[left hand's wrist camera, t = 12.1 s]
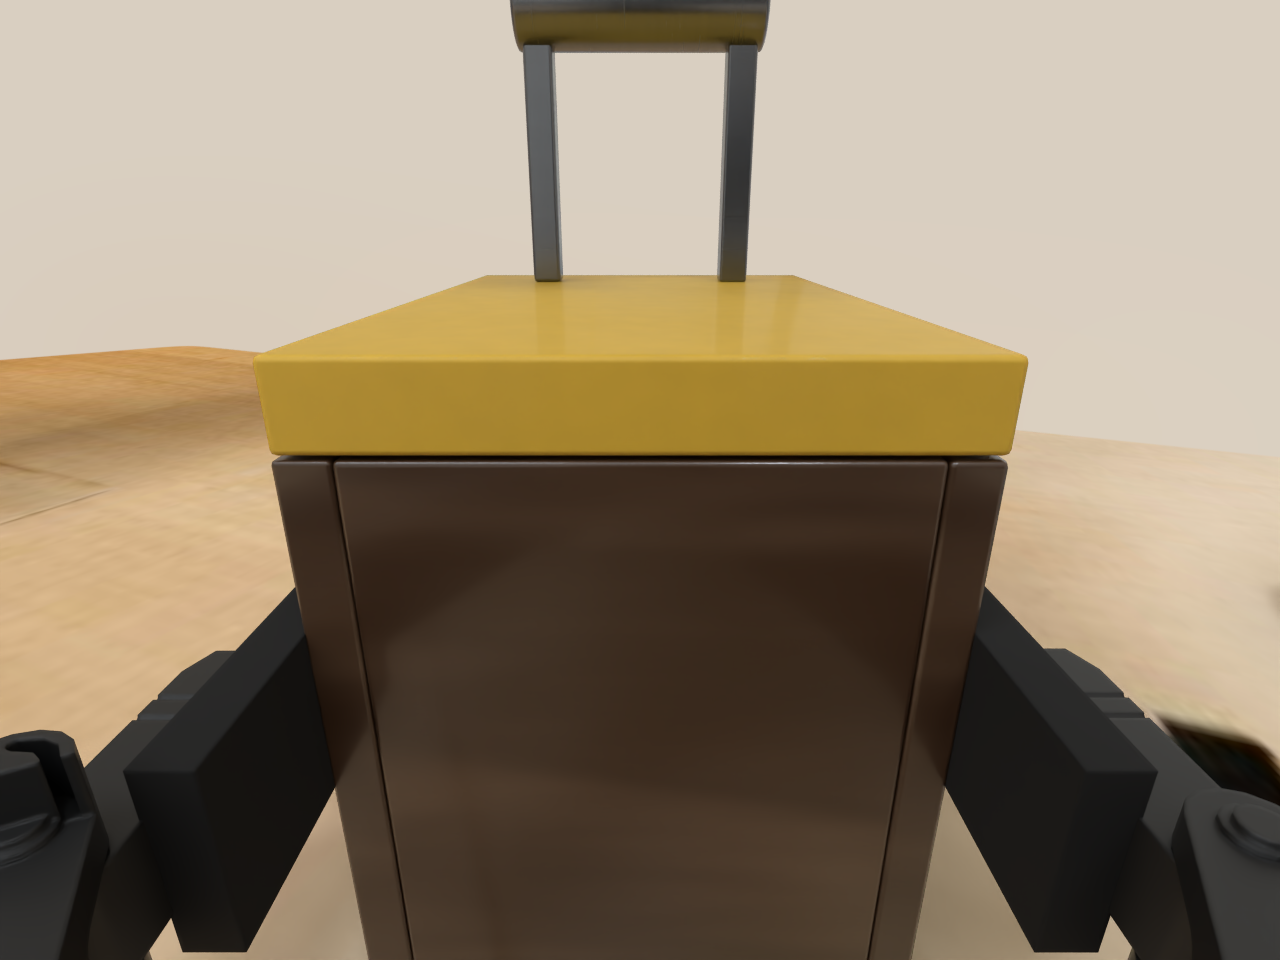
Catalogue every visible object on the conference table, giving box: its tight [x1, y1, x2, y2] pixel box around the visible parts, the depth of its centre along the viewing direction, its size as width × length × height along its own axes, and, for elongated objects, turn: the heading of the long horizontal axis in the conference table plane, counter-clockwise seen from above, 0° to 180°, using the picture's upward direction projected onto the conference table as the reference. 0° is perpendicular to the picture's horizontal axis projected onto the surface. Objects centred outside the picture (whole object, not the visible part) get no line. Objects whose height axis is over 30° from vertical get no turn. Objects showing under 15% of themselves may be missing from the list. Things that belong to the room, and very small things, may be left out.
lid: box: [253, 0, 1028, 455], centre depth 13 cm, size 13×9×8 cm
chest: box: [272, 455, 1008, 960], centre depth 17 cm, size 13×9×11 cm
